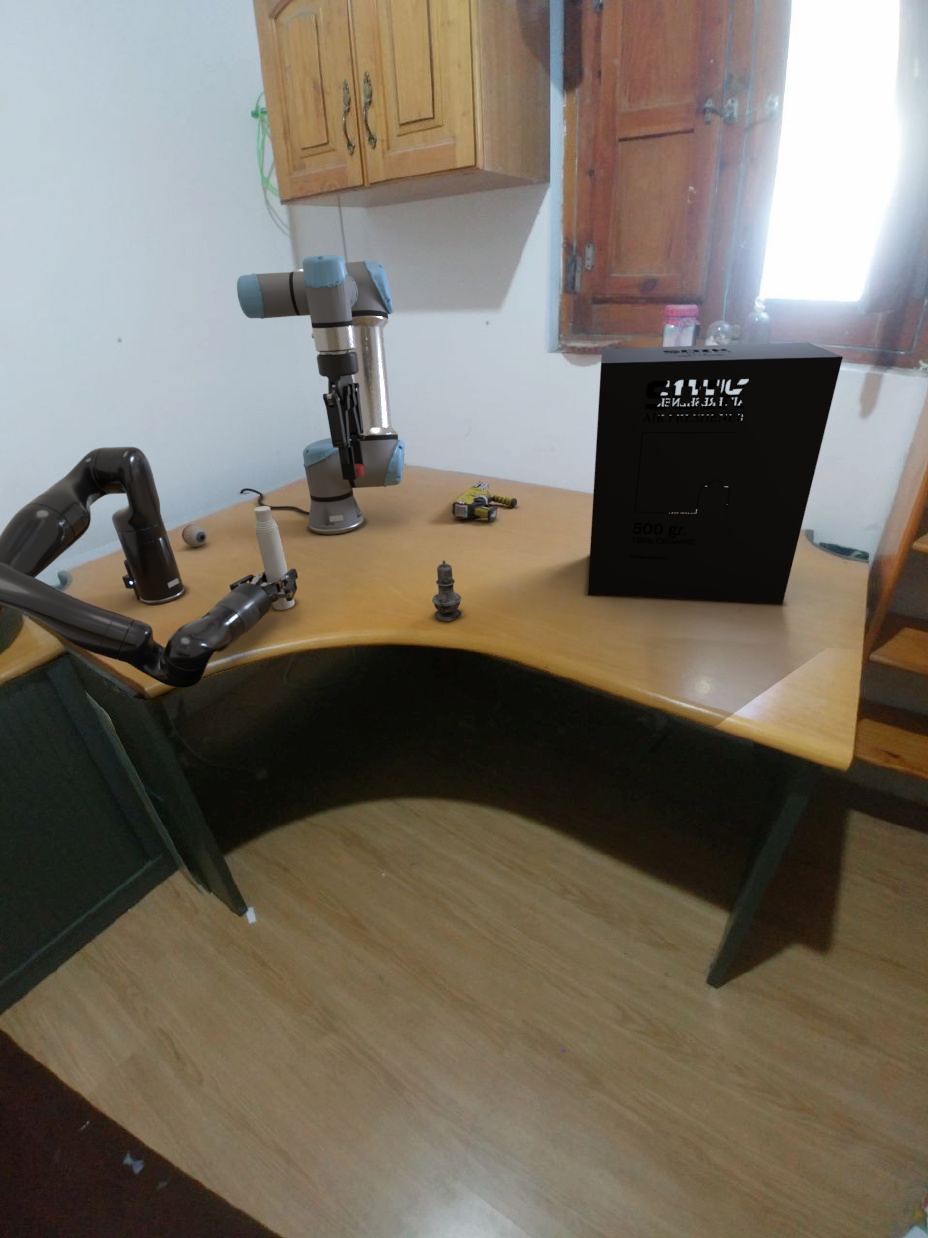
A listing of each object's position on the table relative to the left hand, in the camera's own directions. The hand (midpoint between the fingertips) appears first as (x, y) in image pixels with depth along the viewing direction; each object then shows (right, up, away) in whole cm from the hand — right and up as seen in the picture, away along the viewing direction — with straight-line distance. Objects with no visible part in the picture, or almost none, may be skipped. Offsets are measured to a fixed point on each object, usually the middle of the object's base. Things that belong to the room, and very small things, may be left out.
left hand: (284, 571), depth 128 cm
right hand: (+16, +19, -5) cm, 25 cm away
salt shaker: (+35, -9, -6) cm, 37 cm away
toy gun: (+46, +22, +46) cm, 69 cm away
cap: (+16, +21, -5) cm, 27 cm away
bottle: (0, -7, +1) cm, 7 cm away
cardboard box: (+85, -1, +3) cm, 85 cm away
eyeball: (-33, +9, +33) cm, 47 cm away
